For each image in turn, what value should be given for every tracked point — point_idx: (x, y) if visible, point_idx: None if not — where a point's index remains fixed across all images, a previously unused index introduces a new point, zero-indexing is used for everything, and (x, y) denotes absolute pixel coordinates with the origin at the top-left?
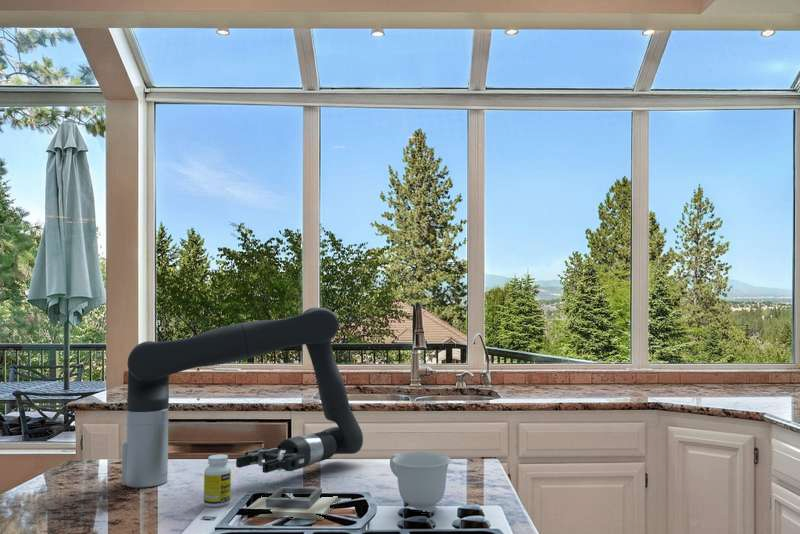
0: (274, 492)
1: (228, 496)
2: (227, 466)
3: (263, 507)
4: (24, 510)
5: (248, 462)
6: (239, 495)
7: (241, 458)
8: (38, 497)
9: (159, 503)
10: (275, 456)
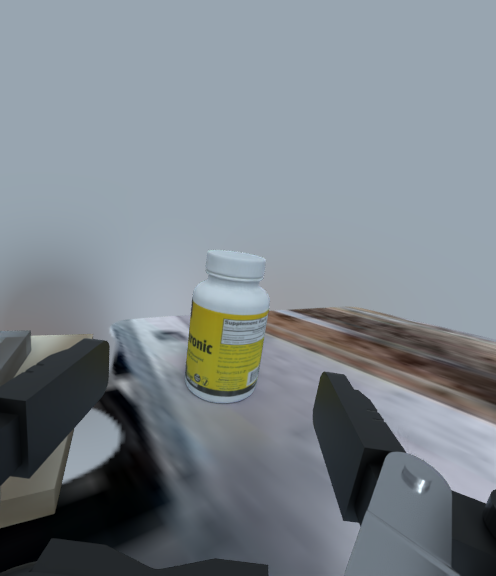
0: (2, 365)
1: (186, 363)
2: (208, 286)
3: (38, 347)
4: (415, 324)
5: (341, 476)
6: (218, 458)
7: (327, 386)
8: (488, 346)
9: (332, 360)
10: (46, 549)
